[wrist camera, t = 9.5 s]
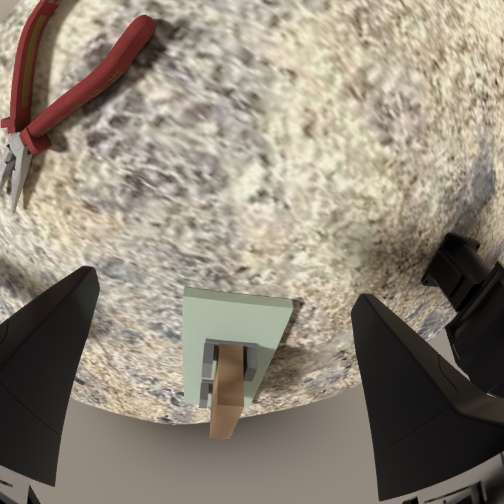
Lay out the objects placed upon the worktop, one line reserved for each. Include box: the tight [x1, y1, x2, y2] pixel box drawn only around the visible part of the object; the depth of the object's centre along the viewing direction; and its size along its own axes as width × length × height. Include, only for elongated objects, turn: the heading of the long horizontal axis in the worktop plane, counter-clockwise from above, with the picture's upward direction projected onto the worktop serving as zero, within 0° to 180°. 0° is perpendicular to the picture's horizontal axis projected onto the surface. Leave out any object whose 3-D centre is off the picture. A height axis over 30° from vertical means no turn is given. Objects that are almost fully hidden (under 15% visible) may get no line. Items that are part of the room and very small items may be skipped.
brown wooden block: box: [210, 343, 244, 440], centre depth 27 cm, size 2×12×7 cm, turn 170°
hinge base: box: [183, 287, 293, 409], centre depth 30 cm, size 10×24×4 cm, turn 170°
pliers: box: [0, 0, 155, 212], centre depth 13 cm, size 12×20×3 cm, turn 138°
